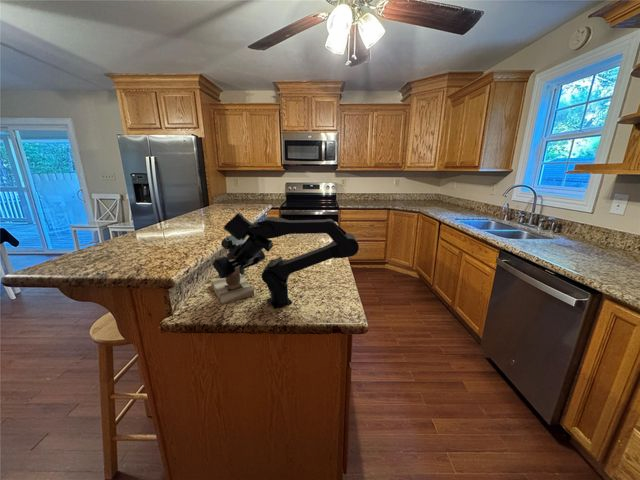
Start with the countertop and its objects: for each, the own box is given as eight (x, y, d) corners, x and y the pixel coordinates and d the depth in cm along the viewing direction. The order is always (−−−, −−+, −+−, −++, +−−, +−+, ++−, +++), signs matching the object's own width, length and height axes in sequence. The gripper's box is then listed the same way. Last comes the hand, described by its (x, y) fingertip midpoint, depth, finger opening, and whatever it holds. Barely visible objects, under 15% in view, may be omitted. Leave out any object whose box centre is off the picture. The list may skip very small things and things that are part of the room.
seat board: (254, 295, 88) (253, 288, 87) (222, 304, 82) (221, 297, 82) (240, 279, 101) (239, 273, 100) (211, 285, 95) (210, 279, 94)
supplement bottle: (247, 273, 107) (246, 246, 104) (233, 277, 102) (230, 249, 99) (239, 268, 111) (237, 242, 108) (225, 272, 107) (222, 246, 103)
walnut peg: (243, 294, 89) (240, 262, 86) (229, 297, 86) (226, 265, 83) (239, 288, 93) (236, 258, 89) (225, 292, 90) (222, 261, 87)
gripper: (257, 223, 89) (237, 247, 97) (213, 234, 73) (193, 262, 81) (275, 247, 87) (253, 270, 95) (234, 264, 72) (212, 290, 80)
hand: (230, 272), depth 88 cm, fingers open, 9 cm apart
